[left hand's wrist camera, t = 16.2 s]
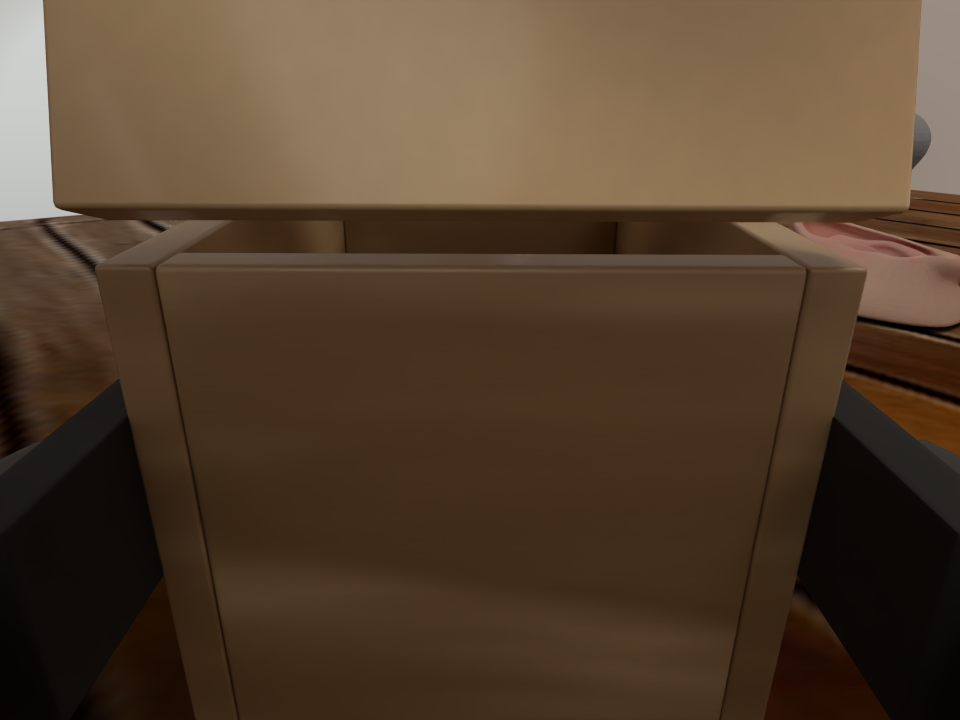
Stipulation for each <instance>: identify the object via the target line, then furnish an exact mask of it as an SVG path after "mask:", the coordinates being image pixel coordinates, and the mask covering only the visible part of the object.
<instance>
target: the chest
mask: <svg viewBox="0 0 960 720" xmlns="http://www.w3.org/2000/svg"><path fill="white" fill-rule="evenodd" d="M95 272H96V276H97V281H98V285H99V290H100V294H101V299H102V303H103V308H104V312H105V317H106V321H107V326H108V330H109V335H110V339H111V344H112V348H113V353H114V357H115V362H116V366H117V371H118V375H119V380H120V384H121V389H122V393H123V397H124V402H125V406H126V411H127V415H128V419H129V424H130V428H131V433H132V437H133V442H134V446H135V450H136V455H137V459H138V464H139V468H140V472H141V477H142V481H143V486H144V490H145V495H146V499H147V503H148V508H149V512H150V517H151V521H152V526H153V530H154V534H155V539H156V543H157V548H158V552H159V556H160V561H161V565H162V570H163V574H164V575H163V577H164V581H165V586H166V590H167V595H168V599H169V604H170V608H171V613H172V617H173V622H174V626H175V631H176V635H177V640H178V644H179V648H180V653H181V657H182V662H183V666H184V671H185V675H186V680H187V684H188V689H189V693H190V698H191V702H192V707H193V711H194V716H195V720H763V719H764V715H765V711H766V707H767V702H768V698H769V694H770V689H771V685H772V681H773V676H774V672H775V668H776V664H777V659H778V655H779V651H780V646H781V642H782V638H783V633H784V629H785V625H786V621H787V616H788V612H789V608H790V603H791V599H792V595H793V590H794V586H795V582H796V578H797V572H798V568H799V564H800V559H801V555H802V551H803V546H804V542H805V538H806V533H807V529H808V524H809V520H810V516H811V511H812V507H813V503H814V498H815V494H816V489H817V485H818V481H819V476H820V472H821V468H822V463H823V459H824V455H825V450H826V446H827V441H828V437H829V433H830V428H831V424H832V420H833V417H834V414H835V410H836V406H837V401H838V397H839V393H840V388H841V384H842V380H843V376H844V371H845V367H846V363H847V358H848V354H849V350H850V345H851V341H852V337H853V333H854V328H855V324H856V320H857V315H858V311H859V307H860V302H861V298H862V294H863V290H864V285H865V281H866V277H867V269H866V268H865V267H863V266H861V265H859V264H857V263H855V262H853V261H851V260H849V259H847V258H845V257H843V256H841V255H839V254H837V253H835V252H833V251H831V250H829V249H827V248H825V247H823V246H821V245H819V244H817V243H815V242H813V241H811V240H809V239H807V238H805V237H803V236H802V235H800V234H798V233H796V232H794V231H792V230H790V229H788V228H786V227H784V226H782V225H780V224H778V223H776V222H516V221H248V220H186V221H184V222H182V223H180V224H178V225H176V226H174V227H172V228H170V229H168V230H166V231H164V232H162V233H160V234H158V235H156V236H154V237H152V238H150V239H148V240H146V241H144V242H142V243H140V244H138V245H136V246H134V247H132V248H130V249H128V250H126V251H124V252H122V253H120V254H118V255H116V256H114V257H112V258H110V259H108V260H106V261H104V262H102V263H100V264H98V265H96V267H95Z"/></svg>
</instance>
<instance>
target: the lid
mask: <svg viewBox="0 0 960 720" xmlns="http://www.w3.org/2000/svg"><path fill="white" fill-rule="evenodd" d="M921 2H922V0H43V8H44V26H45V47H46V66H47V86H48V105H49V125H50V144H51V164H52V184H53V202H54V205H55V207H57V208H59V209H61V210H65V211H70V212H74V213H79V214H83V215H88V216H93V217H97V218H102V219H107V220H248V221H516V222H785V223H855V222H860V221H865V220H870V219H874V218H879V217H884V216H889V215H894V214H899V213H902V212H905V211H907V210H908V208H909V205H910V190H911V172H912V156H913V139H914V122H915V104H916V87H917V70H918V53H919V36H920V18H921Z"/></svg>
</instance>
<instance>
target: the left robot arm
mask: <svg viewBox="0 0 960 720" xmlns="http://www.w3.org/2000/svg"><path fill="white" fill-rule="evenodd" d="M163 575H164V574H163V570H162V565H161V561H160V556H159V552H158V548H157V543H156V539H155V534H154V530H153V526H152V521H151V517H150V512H149V508H148V503H147V499H146V495H145V490H144V486H143V481H142V477H141V472H140V468H139V464H138V459H137V455H136V450H135V446H134V442H133V437H132V433H131V428H130V424H129V419H128V415H127V411H126V406H125V402H124V397H123V393H122V389H121V384H120V380H119V379H118V380H117V381H116V382H115V383H113V384H112V385H111V386H110V387H108V388H107V389H106V390H105V391H104V392H102V393H101V394H100V395H99V396H97V397H96V398H95V399H94V400H92V401H91V402H90V403H89V404H88V405H86V406H85V407H84V408H83V409H81V410H80V411H79V412H78V413H76V414H75V415H74V416H73V417H72V418H70V419H69V420H68V421H67V422H65V423H64V424H63V425H62V426H60V427H59V428H58V429H57V430H56V431H54V432H53V433H52V434H51V435H49V436H48V437H47V438H46V439H44V440H43V441H42V442H36V443H34V444H32V445H29V446H27V447H25V448H23V449H21V450H19V451H17V452H15V453H13V454H11V455H9V456H7V457H5V458H3V459H1V460H0V720H70V718H71V717H72V715H73V714H74V712H75V711H76V709H77V707H78V706H79V704H80V703H81V701H82V700H83V698H84V697H85V695H86V694H87V692H88V690H89V689H90V687H91V686H92V684H93V683H94V681H95V680H96V678H97V677H98V675H99V673H100V672H101V670H102V669H103V667H104V666H105V664H106V663H107V661H108V660H109V658H110V656H111V655H112V653H113V652H114V650H115V649H116V647H117V646H118V644H119V643H120V641H121V639H122V638H123V636H124V635H125V633H126V632H127V630H128V629H129V627H130V626H131V624H132V622H133V621H134V619H135V618H136V616H137V615H138V613H139V612H140V610H141V609H142V607H143V605H144V604H145V602H146V601H147V599H148V598H149V596H150V595H151V593H152V592H153V590H154V589H155V587H156V585H157V584H158V582H159V581H160V579H161V578H162V576H163ZM797 575H798V577H799V578H800V580H801V581H802V583H803V584H804V586H805V587H806V589H807V590H808V592H809V594H810V595H811V597H812V598H813V600H814V601H815V603H816V604H817V606H818V607H819V609H820V611H821V612H822V614H823V615H824V617H825V618H826V620H827V621H828V623H829V624H830V626H831V628H832V629H833V631H834V632H835V634H836V635H837V637H838V638H839V640H840V641H841V643H842V645H843V646H844V648H845V649H846V651H847V652H848V654H849V655H850V657H851V658H852V660H853V662H854V663H855V665H856V666H857V668H858V669H859V671H860V672H861V674H862V675H863V677H864V679H865V680H866V682H867V683H868V685H869V686H870V688H871V689H872V691H873V692H874V694H875V695H876V697H877V699H878V700H879V702H880V703H881V705H882V706H883V708H884V709H885V711H886V712H887V714H888V716H889V717H890V719H891V720H960V456H958V455H956V454H954V453H952V452H949V451H947V450H945V449H943V448H941V447H939V446H937V445H935V444H933V443H931V442H929V441H927V440H916V439H915V438H914V437H913V436H911V435H910V434H909V433H908V432H907V431H905V430H904V429H903V428H902V427H900V426H899V425H898V424H897V423H895V422H894V421H893V420H892V419H890V418H889V417H888V416H887V415H886V414H884V413H883V412H882V411H881V410H879V409H878V408H877V407H876V406H874V405H873V404H872V403H871V402H870V401H868V400H867V399H866V398H865V397H863V396H862V395H861V394H860V393H858V392H857V391H856V390H855V389H854V388H852V387H851V386H850V385H849V384H847V383H846V382H845V381H844V380H842V384H841V388H840V393H839V397H838V401H837V406H836V410H835V414H834V417H833V420H832V424H831V428H830V433H829V437H828V441H827V446H826V450H825V455H824V459H823V463H822V468H821V472H820V476H819V481H818V485H817V489H816V494H815V498H814V503H813V507H812V511H811V516H810V520H809V524H808V529H807V533H806V538H805V542H804V546H803V551H802V555H801V559H800V564H799V568H798V572H797Z"/></svg>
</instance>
